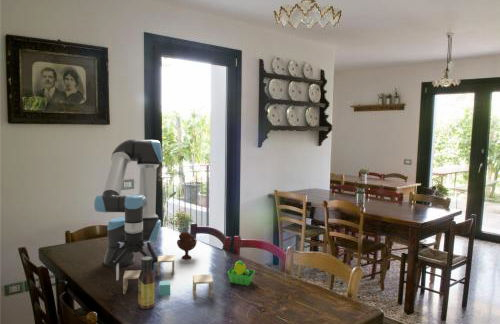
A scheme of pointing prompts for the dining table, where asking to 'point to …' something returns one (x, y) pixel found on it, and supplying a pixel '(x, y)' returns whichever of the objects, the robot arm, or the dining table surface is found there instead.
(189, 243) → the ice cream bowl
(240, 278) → the fruit basket
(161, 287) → the teal cube
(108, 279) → the dining table surface
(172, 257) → the cover
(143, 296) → the sauce bottle
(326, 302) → the dining table surface
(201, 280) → the cover
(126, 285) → the cover
